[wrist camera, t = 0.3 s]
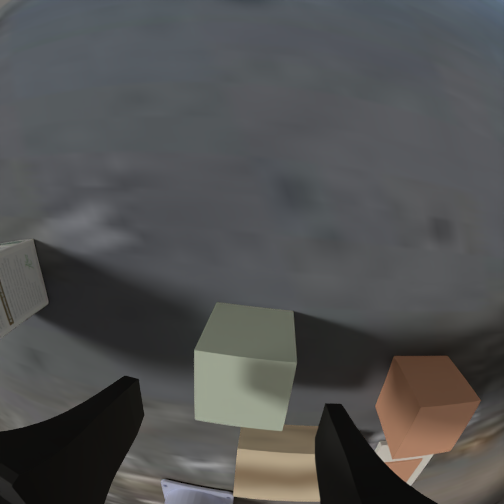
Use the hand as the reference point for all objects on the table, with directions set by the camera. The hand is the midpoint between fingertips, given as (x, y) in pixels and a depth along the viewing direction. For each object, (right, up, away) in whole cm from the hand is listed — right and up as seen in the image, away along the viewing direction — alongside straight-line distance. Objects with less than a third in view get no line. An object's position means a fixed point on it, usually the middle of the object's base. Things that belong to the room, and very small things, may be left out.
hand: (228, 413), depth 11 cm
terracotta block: (+13, -4, +10) cm, 17 cm away
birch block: (+4, -12, +13) cm, 18 cm away
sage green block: (+1, 0, +10) cm, 10 cm away
